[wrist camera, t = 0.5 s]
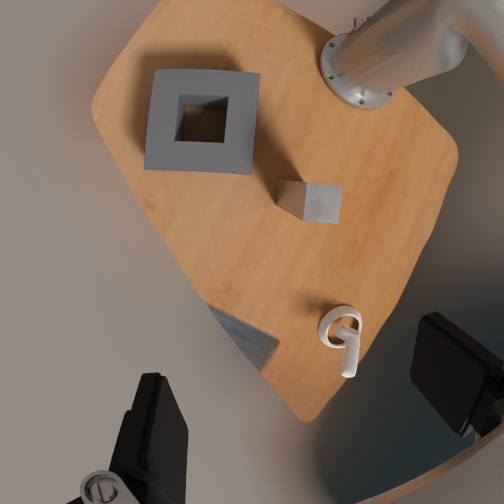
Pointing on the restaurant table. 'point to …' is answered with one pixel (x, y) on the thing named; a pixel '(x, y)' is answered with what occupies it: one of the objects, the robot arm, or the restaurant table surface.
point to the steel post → (310, 200)
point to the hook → (343, 337)
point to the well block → (202, 95)
